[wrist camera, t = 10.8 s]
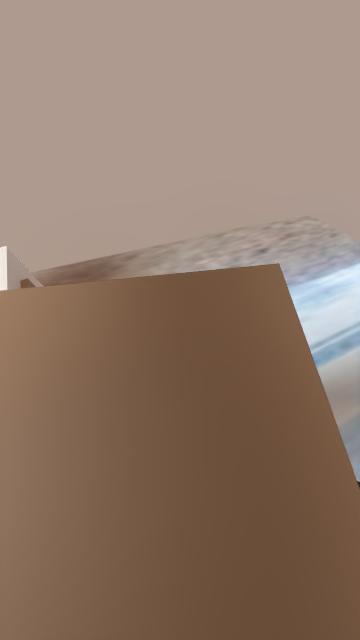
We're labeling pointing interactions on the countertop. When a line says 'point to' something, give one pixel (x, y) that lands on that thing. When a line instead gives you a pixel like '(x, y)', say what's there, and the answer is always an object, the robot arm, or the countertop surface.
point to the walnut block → (171, 465)
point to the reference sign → (14, 272)
